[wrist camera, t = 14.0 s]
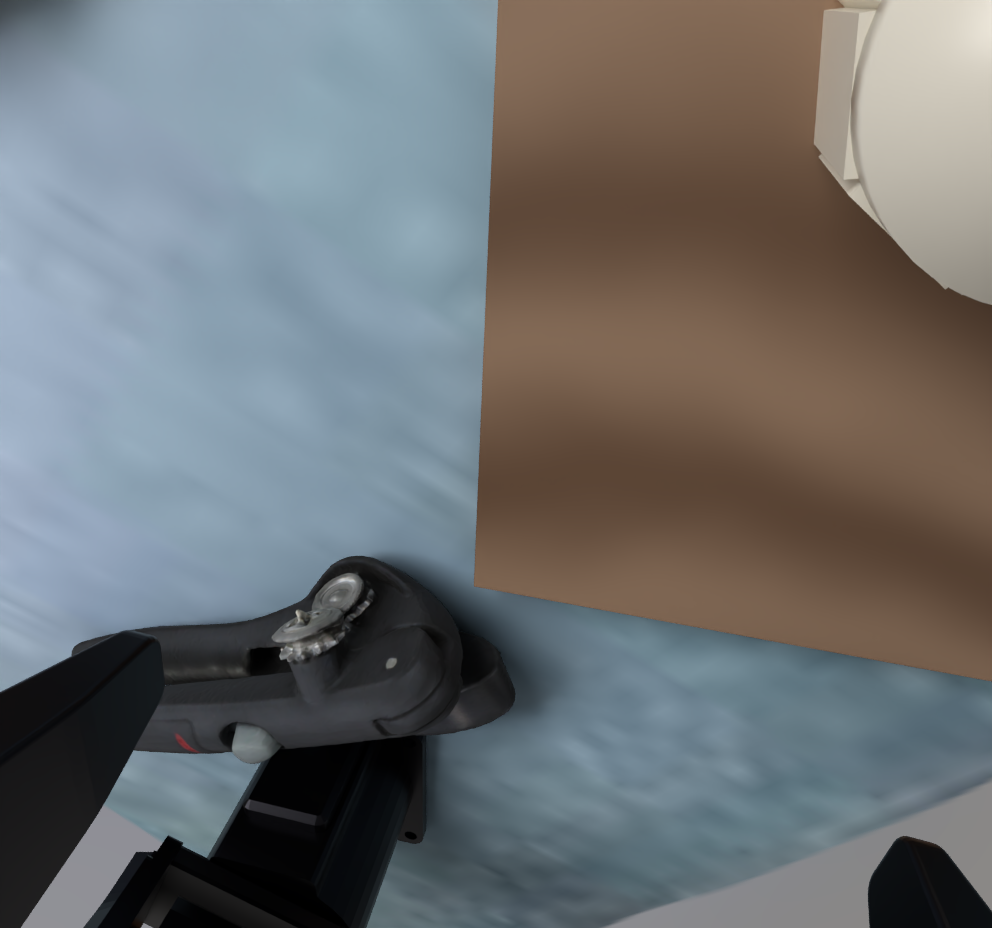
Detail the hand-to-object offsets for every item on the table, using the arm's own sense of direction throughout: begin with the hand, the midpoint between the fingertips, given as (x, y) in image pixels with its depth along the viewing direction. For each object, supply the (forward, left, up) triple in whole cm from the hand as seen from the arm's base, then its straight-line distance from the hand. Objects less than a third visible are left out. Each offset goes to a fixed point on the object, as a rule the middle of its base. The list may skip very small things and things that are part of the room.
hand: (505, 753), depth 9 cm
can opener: (-12, +10, -12) cm, 20 cm away
